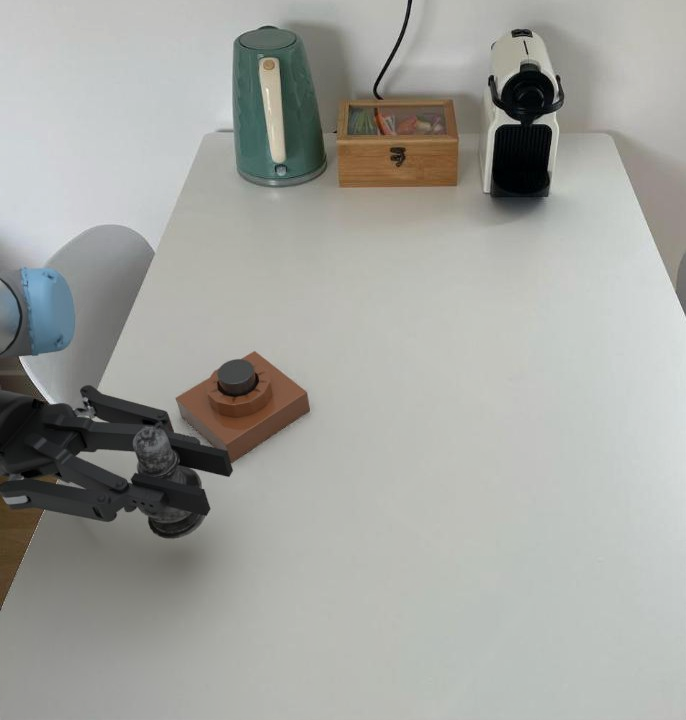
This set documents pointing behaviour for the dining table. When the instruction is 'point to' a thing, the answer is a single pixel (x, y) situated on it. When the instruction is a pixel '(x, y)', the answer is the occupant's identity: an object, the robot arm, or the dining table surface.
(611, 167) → the dining table surface
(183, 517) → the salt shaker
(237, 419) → the brown square base plate
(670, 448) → the dining table surface
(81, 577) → the dining table surface
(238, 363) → the button
